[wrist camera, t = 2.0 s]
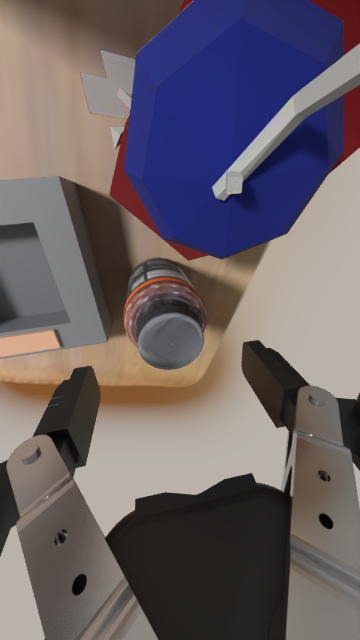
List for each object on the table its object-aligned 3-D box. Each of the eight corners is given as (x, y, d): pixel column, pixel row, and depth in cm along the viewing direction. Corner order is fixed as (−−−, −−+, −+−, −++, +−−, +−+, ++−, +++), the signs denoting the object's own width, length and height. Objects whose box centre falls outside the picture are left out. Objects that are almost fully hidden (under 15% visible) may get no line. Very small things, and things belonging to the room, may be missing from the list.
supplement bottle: (173, 317, 25) (196, 391, 15) (121, 302, 23) (106, 375, 13) (194, 267, 22) (237, 316, 12) (138, 246, 20) (136, 283, 11)
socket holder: (-104, 197, 16) (-179, 193, 12) (75, 182, 17) (56, 175, 14) (-15, 340, 22) (-47, 367, 18) (112, 322, 24) (106, 343, 20)
